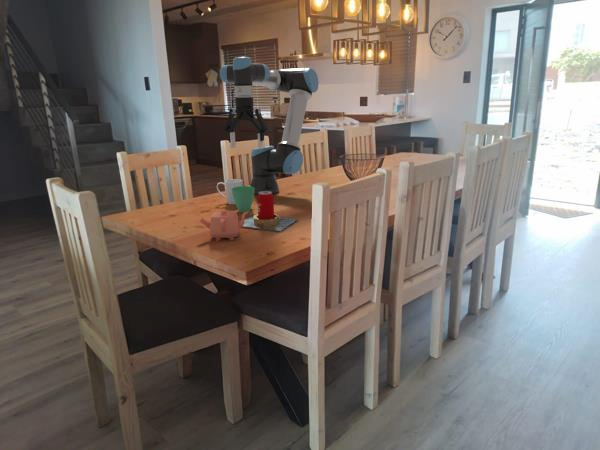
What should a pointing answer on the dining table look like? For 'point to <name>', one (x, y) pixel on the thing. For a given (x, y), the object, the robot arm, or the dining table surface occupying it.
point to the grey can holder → (269, 223)
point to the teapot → (224, 224)
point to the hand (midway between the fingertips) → (246, 148)
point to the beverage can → (265, 205)
